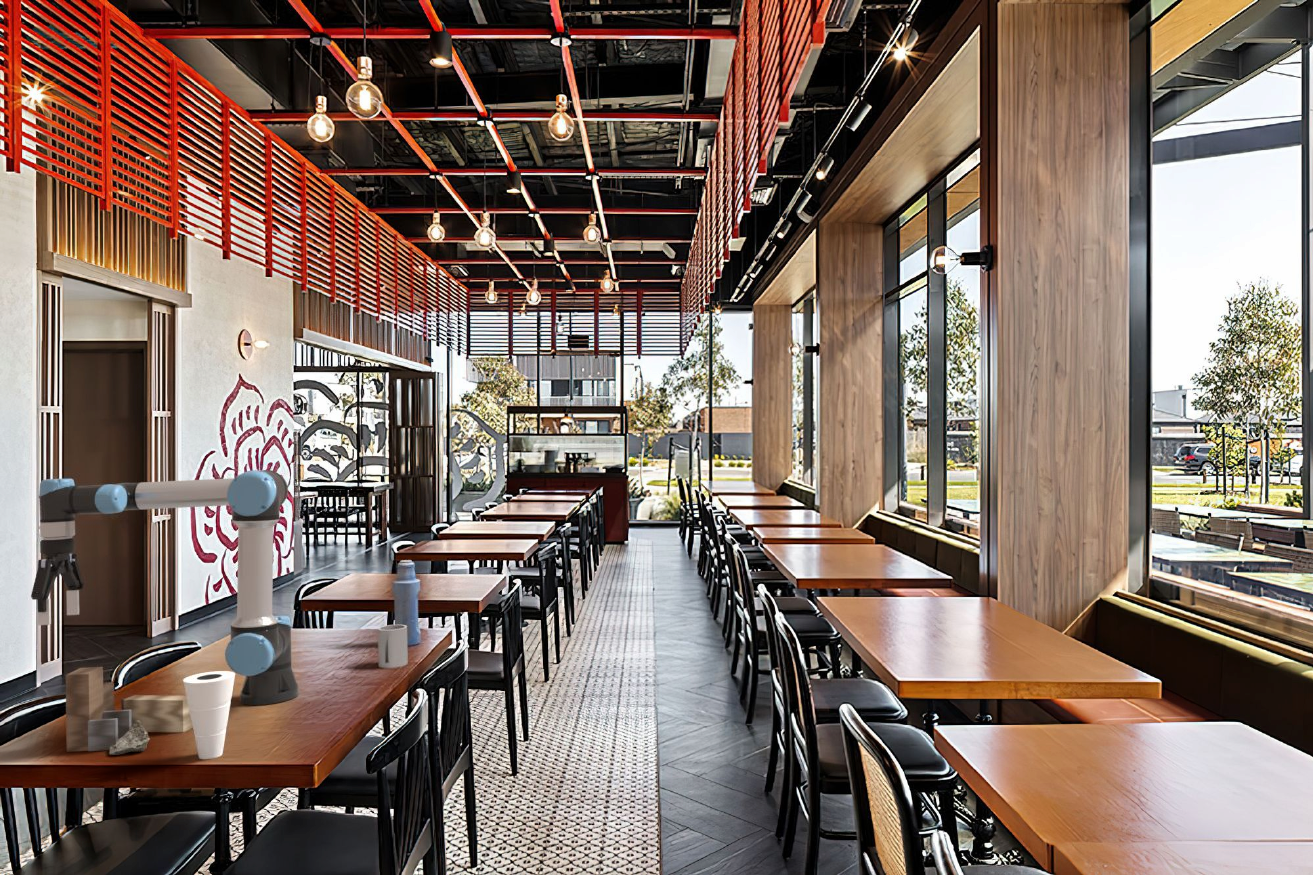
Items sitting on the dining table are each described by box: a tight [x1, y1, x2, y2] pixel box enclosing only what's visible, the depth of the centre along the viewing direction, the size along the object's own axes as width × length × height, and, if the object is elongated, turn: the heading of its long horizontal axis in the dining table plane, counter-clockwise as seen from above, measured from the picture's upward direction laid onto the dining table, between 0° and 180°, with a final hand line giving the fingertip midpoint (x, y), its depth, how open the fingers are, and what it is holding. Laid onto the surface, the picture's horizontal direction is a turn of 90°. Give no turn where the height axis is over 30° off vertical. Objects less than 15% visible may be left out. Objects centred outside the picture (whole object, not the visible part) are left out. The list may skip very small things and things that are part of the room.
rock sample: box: [108, 720, 151, 756], centre depth 205 cm, size 10×8×9 cm
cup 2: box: [182, 670, 236, 760], centre depth 200 cm, size 11×11×18 cm
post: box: [65, 666, 132, 753], centre depth 213 cm, size 11×17×18 cm, turn 9°
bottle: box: [391, 559, 422, 647], centre depth 314 cm, size 10×10×30 cm
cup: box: [377, 624, 409, 669], centre depth 284 cm, size 9×9×12 cm
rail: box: [121, 694, 193, 733], centre depth 221 cm, size 17×4×8 cm, turn 84°
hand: (59, 619), depth 227 cm, fingers open, 13 cm apart
